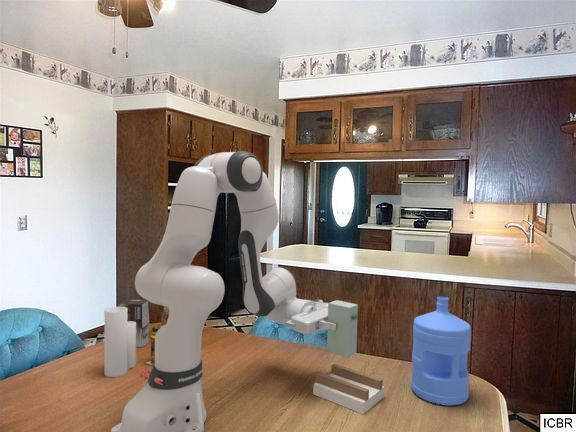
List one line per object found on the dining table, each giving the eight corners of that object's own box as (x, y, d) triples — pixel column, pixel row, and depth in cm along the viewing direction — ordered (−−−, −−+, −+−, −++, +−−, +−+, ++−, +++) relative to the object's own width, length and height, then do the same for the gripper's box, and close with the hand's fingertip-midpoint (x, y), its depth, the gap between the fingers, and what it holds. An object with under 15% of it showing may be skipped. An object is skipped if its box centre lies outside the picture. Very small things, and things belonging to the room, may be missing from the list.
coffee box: (150, 341, 153) (150, 299, 153) (142, 347, 147) (142, 304, 146) (127, 340, 154) (127, 298, 154) (118, 346, 148) (118, 302, 147)
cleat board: (363, 414, 104) (364, 393, 104) (313, 394, 114) (313, 375, 114) (384, 397, 114) (384, 378, 113) (336, 380, 124) (336, 362, 123)
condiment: (145, 363, 133) (145, 328, 132) (161, 354, 141) (161, 320, 140) (163, 367, 130) (163, 331, 130) (178, 357, 138) (179, 323, 138)
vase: (120, 377, 122) (121, 313, 121) (98, 376, 123) (98, 311, 122) (138, 362, 133) (138, 303, 133) (118, 361, 134) (118, 302, 133)
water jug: (400, 383, 122) (403, 292, 121) (445, 378, 126) (449, 290, 125) (431, 409, 107) (435, 306, 106) (481, 403, 111) (485, 303, 110)
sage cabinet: (350, 358, 110) (352, 308, 110) (327, 351, 115) (328, 303, 114) (358, 353, 114) (360, 305, 113) (335, 346, 119) (336, 300, 118)
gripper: (281, 311, 115) (322, 321, 106) (321, 298, 131) (359, 306, 122) (281, 333, 115) (321, 345, 106) (321, 317, 131) (359, 326, 122)
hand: (342, 324), depth 114 cm, fingers closed on sage cabinet, 4 cm apart
